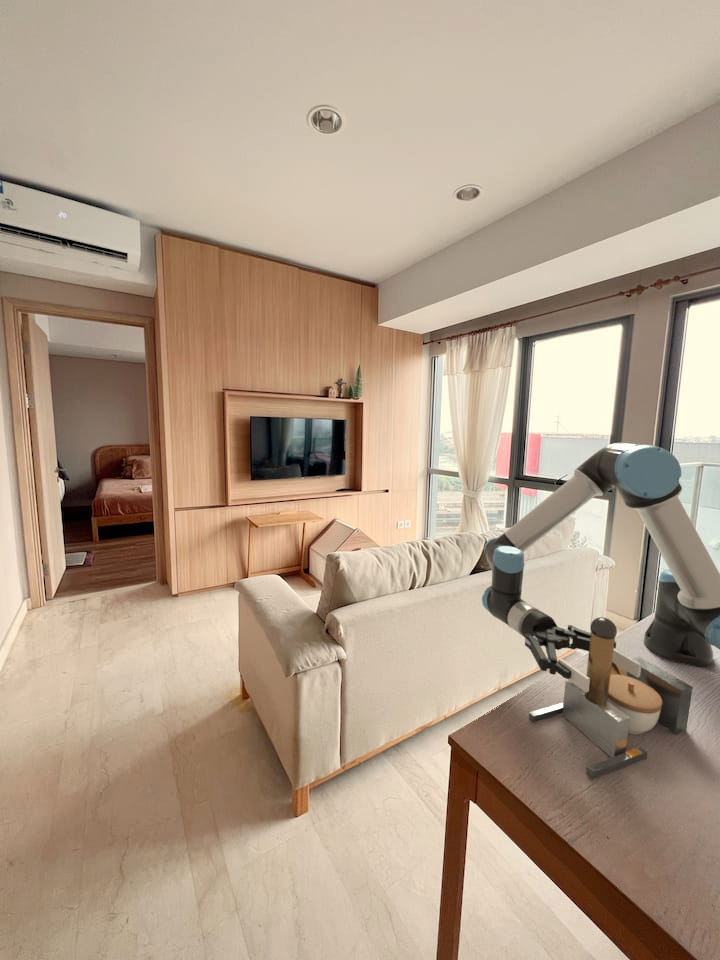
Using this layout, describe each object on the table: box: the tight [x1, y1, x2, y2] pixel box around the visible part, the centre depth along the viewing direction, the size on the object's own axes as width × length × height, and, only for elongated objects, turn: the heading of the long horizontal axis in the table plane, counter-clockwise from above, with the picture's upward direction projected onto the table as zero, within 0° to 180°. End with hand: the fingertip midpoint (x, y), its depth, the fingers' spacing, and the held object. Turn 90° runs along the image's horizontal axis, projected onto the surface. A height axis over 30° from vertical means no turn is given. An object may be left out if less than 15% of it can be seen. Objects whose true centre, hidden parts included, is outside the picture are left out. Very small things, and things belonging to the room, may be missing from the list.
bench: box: [528, 656, 694, 781], centre depth 81 cm, size 29×15×10 cm, turn 109°
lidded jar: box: [608, 675, 662, 735], centre depth 83 cm, size 11×11×9 cm
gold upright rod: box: [561, 616, 630, 758], centre depth 78 cm, size 4×12×25 cm, turn 20°
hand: (614, 678), depth 75 cm, fingers open, 13 cm apart
